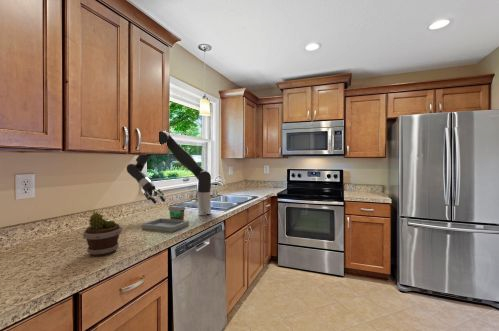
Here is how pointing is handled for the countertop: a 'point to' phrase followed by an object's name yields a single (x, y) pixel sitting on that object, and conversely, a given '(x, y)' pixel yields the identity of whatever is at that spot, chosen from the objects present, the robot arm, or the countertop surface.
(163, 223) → the tray
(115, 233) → the flowerpot
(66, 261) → the countertop surface
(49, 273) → the countertop surface
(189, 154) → the robot arm
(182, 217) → the food container
